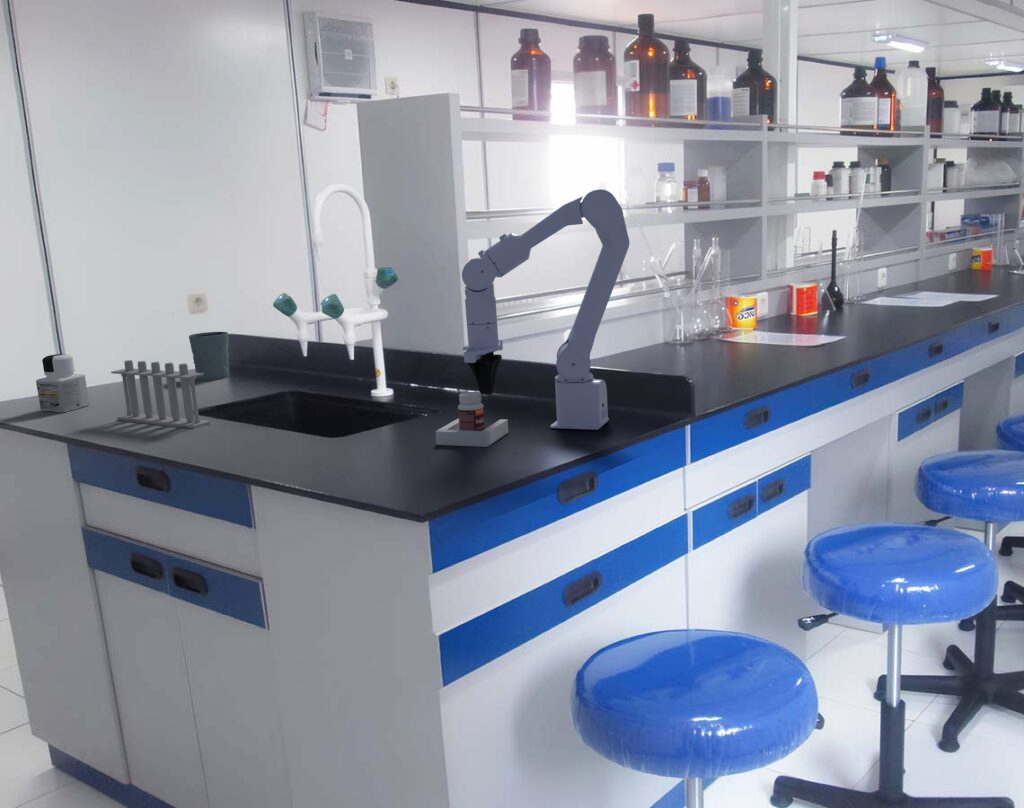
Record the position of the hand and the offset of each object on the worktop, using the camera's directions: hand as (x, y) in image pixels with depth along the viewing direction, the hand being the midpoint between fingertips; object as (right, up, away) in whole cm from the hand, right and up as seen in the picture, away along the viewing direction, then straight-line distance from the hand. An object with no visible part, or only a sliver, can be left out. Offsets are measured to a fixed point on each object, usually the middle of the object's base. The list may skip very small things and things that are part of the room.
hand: (486, 393), depth 180 cm
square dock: (-2, -8, -5) cm, 10 cm away
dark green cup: (-76, +5, +78) cm, 109 cm away
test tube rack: (-71, -6, +24) cm, 75 cm away
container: (-102, -3, +45) cm, 111 cm away
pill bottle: (-2, -9, -5) cm, 10 cm away
